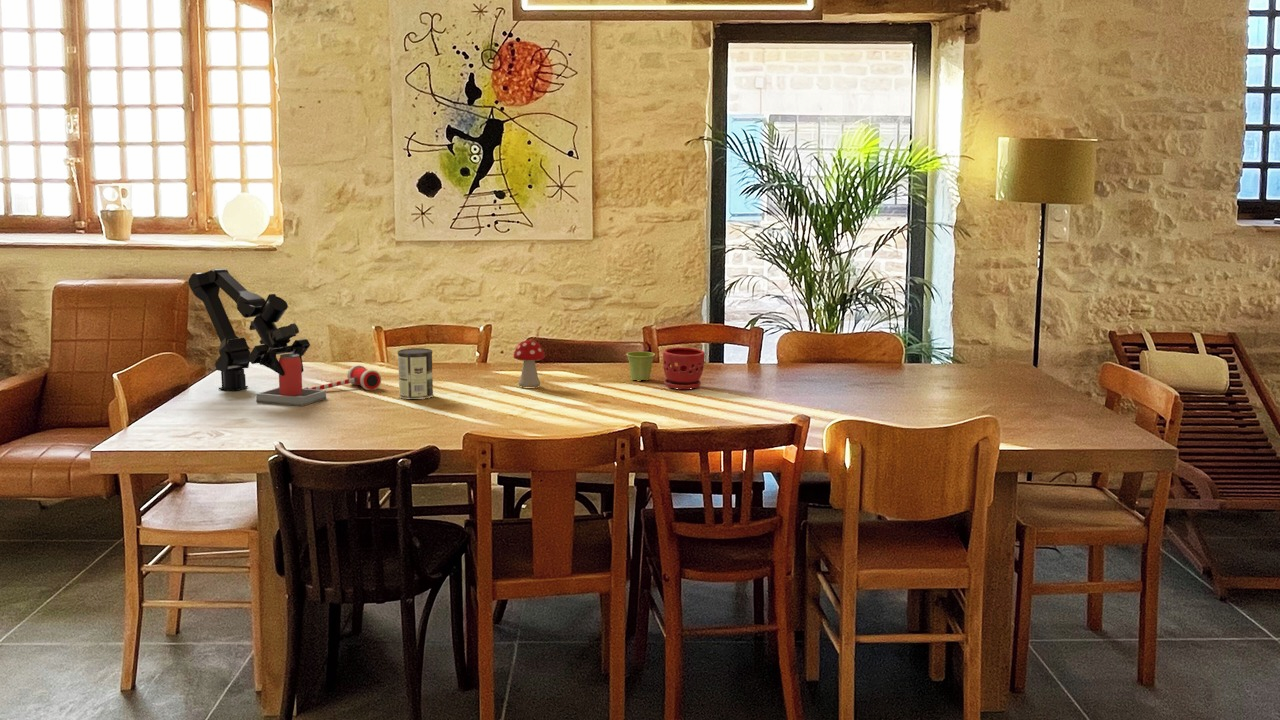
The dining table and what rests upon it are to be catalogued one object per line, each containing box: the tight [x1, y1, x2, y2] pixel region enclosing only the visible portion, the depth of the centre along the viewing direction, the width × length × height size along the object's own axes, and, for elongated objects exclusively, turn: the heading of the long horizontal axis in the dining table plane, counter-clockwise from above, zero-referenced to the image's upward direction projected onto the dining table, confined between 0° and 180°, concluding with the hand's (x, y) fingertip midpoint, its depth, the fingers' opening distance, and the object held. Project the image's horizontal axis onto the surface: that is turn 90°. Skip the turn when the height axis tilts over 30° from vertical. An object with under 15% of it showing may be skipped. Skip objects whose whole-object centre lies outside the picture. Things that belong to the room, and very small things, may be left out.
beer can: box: [278, 353, 303, 397], centre depth 378 cm, size 7×7×12 cm
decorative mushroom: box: [513, 339, 546, 387], centre depth 401 cm, size 10×9×15 cm
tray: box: [255, 386, 327, 407], centre depth 379 cm, size 16×12×2 cm
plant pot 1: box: [625, 351, 656, 382], centre depth 416 cm, size 9×9×9 cm
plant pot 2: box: [662, 346, 706, 389], centre depth 403 cm, size 13×13×12 cm
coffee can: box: [397, 347, 434, 400], centre depth 385 cm, size 10×10×14 cm
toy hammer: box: [303, 364, 382, 391], centre depth 396 cm, size 23×12×6 cm, turn 126°
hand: (293, 373), depth 377 cm, fingers closed on beer can, 6 cm apart
